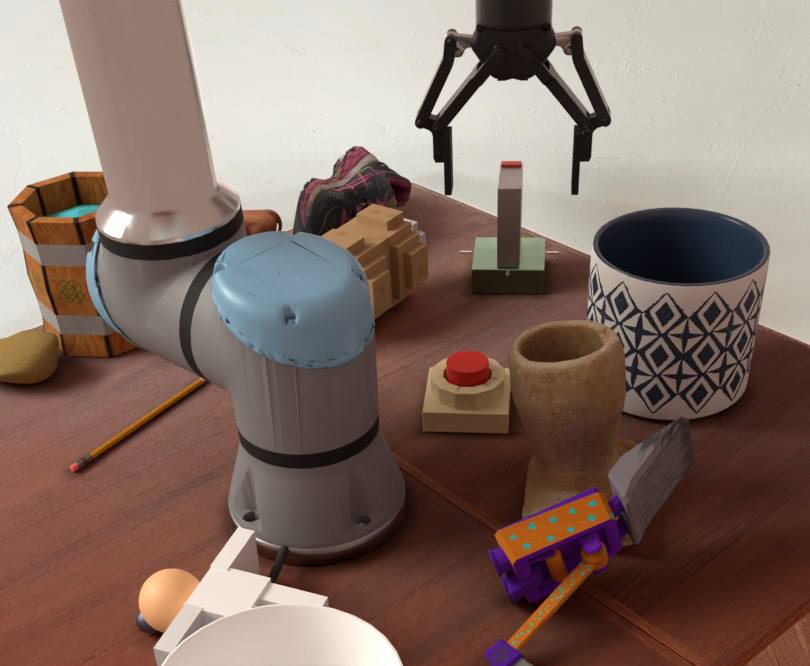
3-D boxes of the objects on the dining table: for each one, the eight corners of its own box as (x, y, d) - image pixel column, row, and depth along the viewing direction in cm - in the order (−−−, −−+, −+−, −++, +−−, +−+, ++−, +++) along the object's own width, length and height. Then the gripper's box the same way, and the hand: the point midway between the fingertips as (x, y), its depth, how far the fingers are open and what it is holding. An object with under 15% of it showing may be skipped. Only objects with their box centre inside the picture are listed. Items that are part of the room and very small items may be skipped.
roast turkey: (449, 287, 127) (447, 203, 121) (353, 360, 116) (346, 271, 110) (377, 267, 132) (372, 184, 125) (279, 334, 121) (268, 248, 114)
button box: (507, 433, 105) (508, 397, 103) (422, 431, 106) (421, 395, 104) (510, 387, 111) (511, 352, 109) (430, 385, 112) (429, 350, 110)
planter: (571, 342, 117) (579, 211, 108) (723, 333, 117) (744, 202, 108) (596, 429, 105) (607, 290, 96) (765, 420, 105) (793, 280, 96)
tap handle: (519, 267, 124) (521, 186, 118) (496, 266, 124) (497, 186, 118) (521, 238, 129) (523, 160, 123) (499, 238, 130) (500, 160, 124)
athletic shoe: (261, 219, 127) (357, 228, 123) (329, 102, 138) (420, 107, 134) (287, 294, 136) (378, 304, 132) (350, 179, 147) (435, 185, 143)
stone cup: (516, 440, 104) (520, 294, 94) (647, 452, 102) (665, 304, 92) (489, 545, 93) (490, 392, 83) (634, 562, 91) (653, 406, 81)
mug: (46, 368, 118) (5, 234, 108) (44, 308, 128) (7, 181, 118) (231, 335, 121) (208, 202, 111) (216, 280, 131) (193, 153, 121)
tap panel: (557, 301, 124) (559, 275, 122) (456, 300, 125) (456, 274, 123) (558, 255, 132) (559, 230, 130) (463, 254, 134) (462, 229, 132)
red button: (487, 389, 105) (487, 373, 104) (444, 388, 105) (444, 372, 104) (489, 366, 108) (489, 350, 107) (448, 365, 108) (447, 349, 107)
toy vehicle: (695, 471, 90) (787, 622, 82) (455, 578, 92) (522, 737, 83) (686, 407, 83) (786, 565, 74) (427, 524, 84) (496, 692, 76)
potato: (84, 339, 117) (41, 377, 111) (55, 381, 122) (12, 419, 116) (29, 292, 115) (-17, 329, 109) (2, 337, 120) (-43, 374, 114)
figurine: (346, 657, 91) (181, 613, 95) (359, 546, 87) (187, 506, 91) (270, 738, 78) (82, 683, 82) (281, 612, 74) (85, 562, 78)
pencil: (75, 473, 103) (73, 466, 103) (70, 472, 104) (68, 464, 103) (214, 378, 115) (212, 371, 115) (209, 377, 116) (207, 370, 115)
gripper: (643, -36, 110) (626, 175, 124) (390, -29, 113) (401, 176, 126) (648, -14, 104) (629, 204, 118) (381, -8, 107) (393, 205, 121)
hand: (511, 190), depth 122 cm, fingers open, 13 cm apart
